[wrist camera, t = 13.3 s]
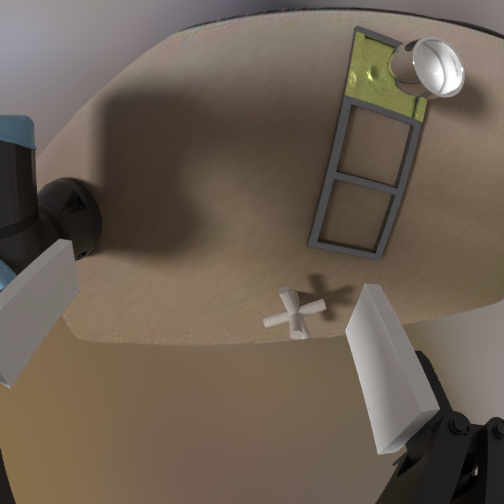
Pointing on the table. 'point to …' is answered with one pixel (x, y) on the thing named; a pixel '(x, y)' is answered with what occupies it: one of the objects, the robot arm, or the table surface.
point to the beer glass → (419, 70)
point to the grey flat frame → (358, 95)
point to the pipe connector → (294, 313)
